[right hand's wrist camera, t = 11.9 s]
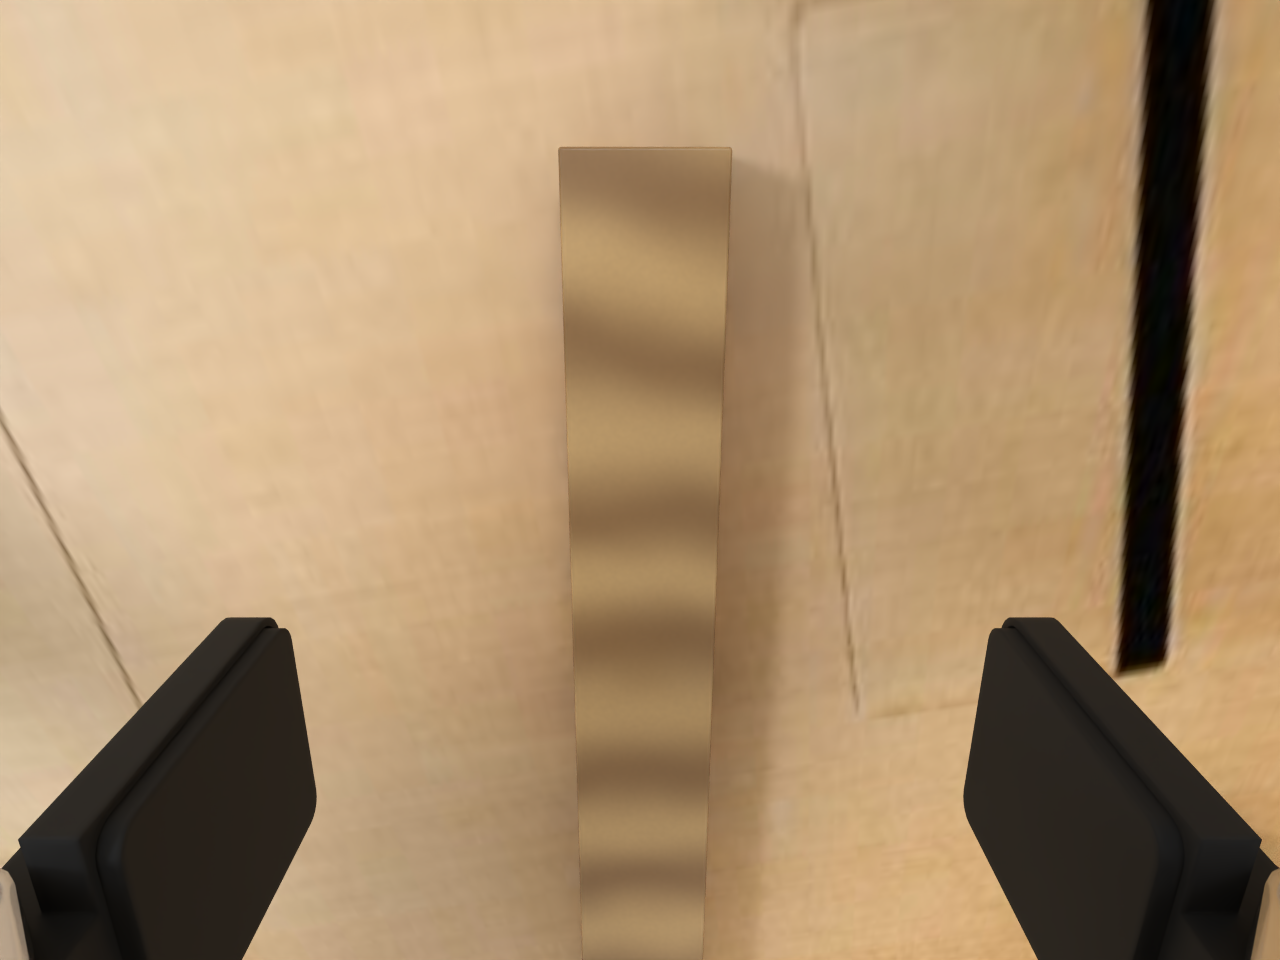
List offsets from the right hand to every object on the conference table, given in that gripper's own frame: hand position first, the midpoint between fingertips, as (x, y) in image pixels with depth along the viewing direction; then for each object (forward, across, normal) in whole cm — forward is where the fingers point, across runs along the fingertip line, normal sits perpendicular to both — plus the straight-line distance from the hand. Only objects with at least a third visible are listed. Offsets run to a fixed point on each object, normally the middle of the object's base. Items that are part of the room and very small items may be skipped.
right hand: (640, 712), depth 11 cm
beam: (+26, 0, -18) cm, 32 cm away
